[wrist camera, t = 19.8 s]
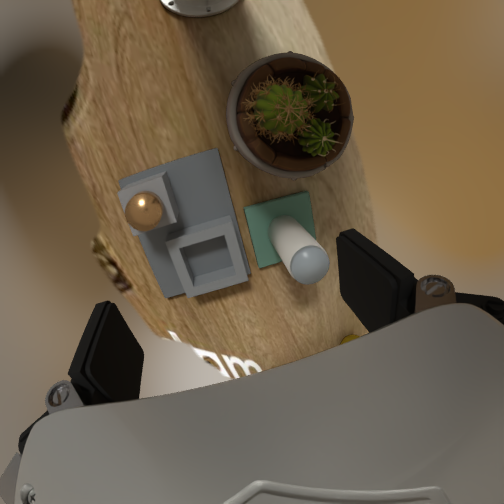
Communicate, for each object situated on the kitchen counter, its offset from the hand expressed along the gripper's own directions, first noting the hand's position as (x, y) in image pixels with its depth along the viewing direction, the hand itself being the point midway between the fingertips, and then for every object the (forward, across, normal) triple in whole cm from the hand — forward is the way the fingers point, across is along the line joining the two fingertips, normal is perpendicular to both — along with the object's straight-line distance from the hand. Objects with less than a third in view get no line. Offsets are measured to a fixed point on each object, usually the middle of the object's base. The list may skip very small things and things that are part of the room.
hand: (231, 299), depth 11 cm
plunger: (+28, +8, +1) cm, 29 cm away
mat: (+30, -9, +11) cm, 33 cm away
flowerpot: (+31, -11, -6) cm, 33 cm away
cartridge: (+29, -9, +11) cm, 32 cm away
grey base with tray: (+30, +5, +7) cm, 31 cm away
